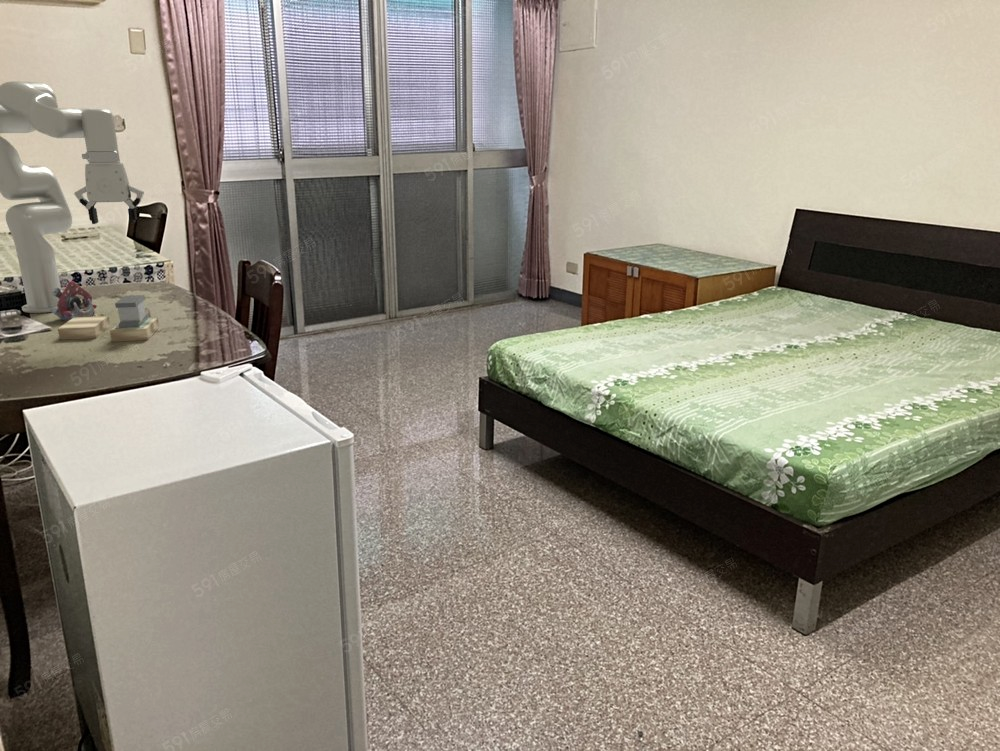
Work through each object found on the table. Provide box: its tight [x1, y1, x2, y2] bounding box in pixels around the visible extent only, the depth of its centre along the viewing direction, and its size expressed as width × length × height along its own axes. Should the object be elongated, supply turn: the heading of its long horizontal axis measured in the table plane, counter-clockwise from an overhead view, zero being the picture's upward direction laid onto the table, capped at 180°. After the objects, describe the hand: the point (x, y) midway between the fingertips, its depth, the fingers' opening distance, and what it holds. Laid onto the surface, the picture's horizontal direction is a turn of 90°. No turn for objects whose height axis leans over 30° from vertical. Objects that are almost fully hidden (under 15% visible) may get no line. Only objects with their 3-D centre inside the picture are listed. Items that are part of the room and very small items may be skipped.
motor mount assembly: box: [51, 280, 98, 322], centre depth 222 cm, size 11×11×12 cm
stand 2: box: [109, 317, 160, 342], centre depth 205 cm, size 12×9×3 cm
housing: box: [114, 294, 149, 328], centre depth 204 cm, size 9×5×7 cm, turn 10°
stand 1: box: [57, 315, 111, 341], centre depth 207 cm, size 12×9×3 cm
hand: (114, 223), depth 208 cm, fingers open, 9 cm apart
